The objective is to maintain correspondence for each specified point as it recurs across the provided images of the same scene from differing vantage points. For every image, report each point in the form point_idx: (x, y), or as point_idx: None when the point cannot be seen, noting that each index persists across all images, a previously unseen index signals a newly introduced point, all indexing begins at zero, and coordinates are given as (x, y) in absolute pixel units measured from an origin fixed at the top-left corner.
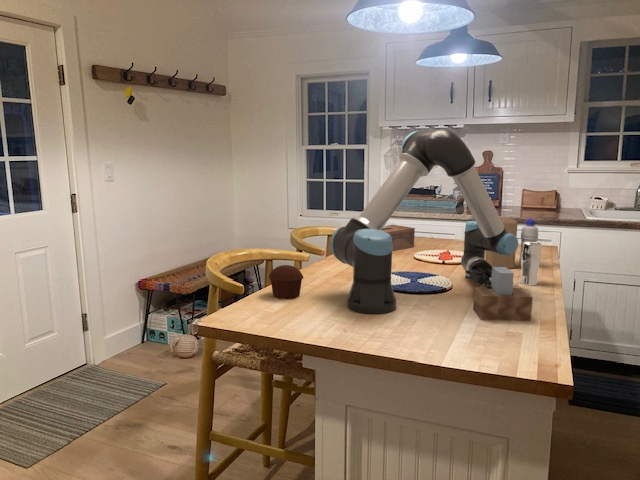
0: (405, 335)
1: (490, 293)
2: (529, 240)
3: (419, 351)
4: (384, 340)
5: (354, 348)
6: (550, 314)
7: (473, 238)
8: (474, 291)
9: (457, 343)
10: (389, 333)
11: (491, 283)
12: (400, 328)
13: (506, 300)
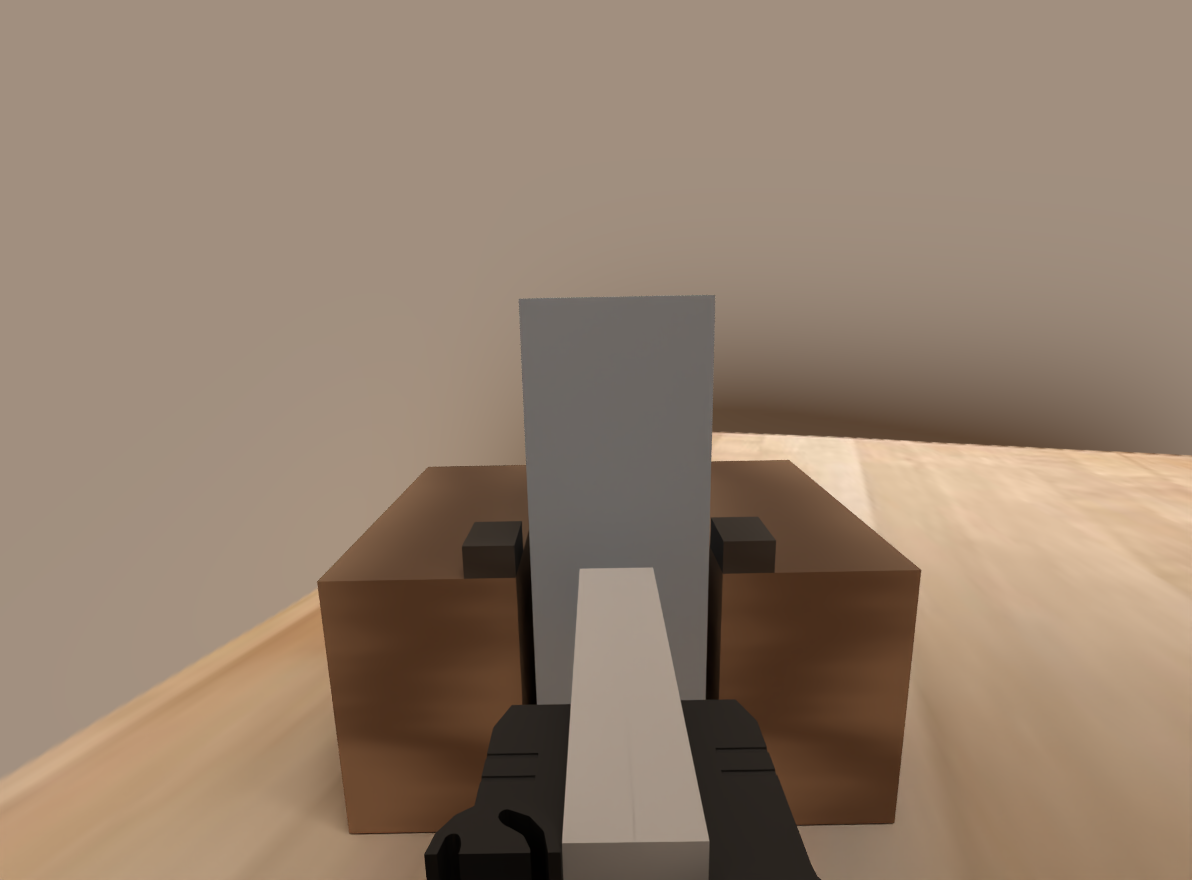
0: (1069, 501)
1: (726, 483)
2: None
3: (940, 459)
4: (1106, 481)
5: (1141, 458)
6: (134, 750)
7: None
8: (907, 614)
9: (844, 484)
10: (1149, 506)
11: (706, 523)
12: (1155, 532)
13: None
